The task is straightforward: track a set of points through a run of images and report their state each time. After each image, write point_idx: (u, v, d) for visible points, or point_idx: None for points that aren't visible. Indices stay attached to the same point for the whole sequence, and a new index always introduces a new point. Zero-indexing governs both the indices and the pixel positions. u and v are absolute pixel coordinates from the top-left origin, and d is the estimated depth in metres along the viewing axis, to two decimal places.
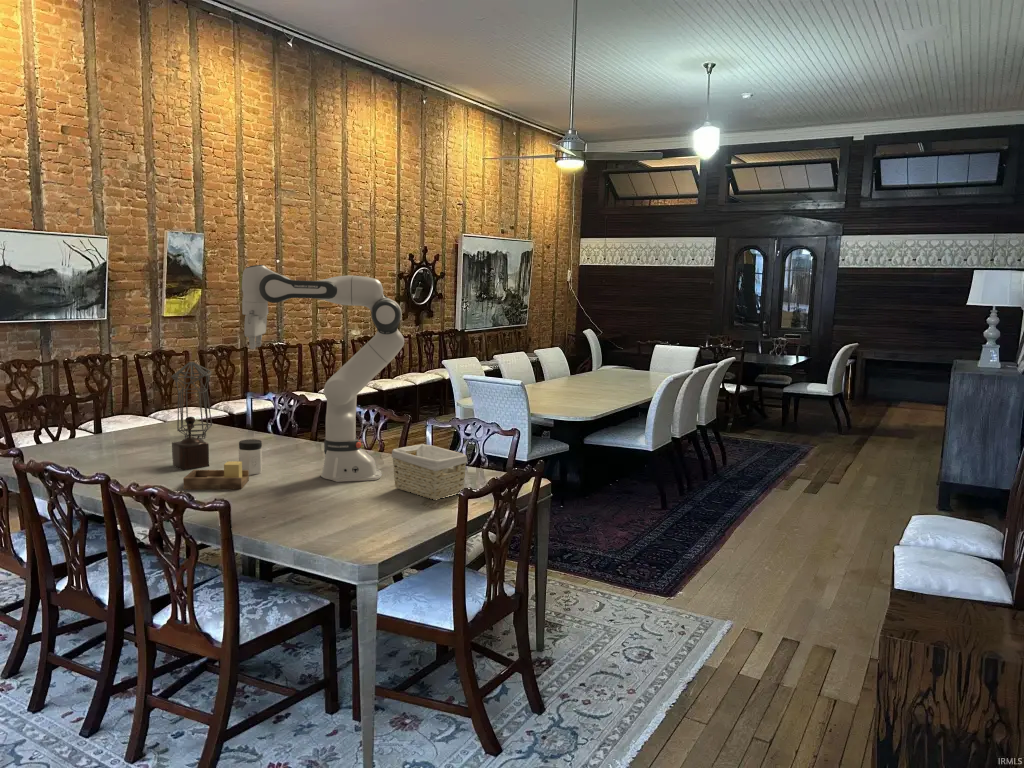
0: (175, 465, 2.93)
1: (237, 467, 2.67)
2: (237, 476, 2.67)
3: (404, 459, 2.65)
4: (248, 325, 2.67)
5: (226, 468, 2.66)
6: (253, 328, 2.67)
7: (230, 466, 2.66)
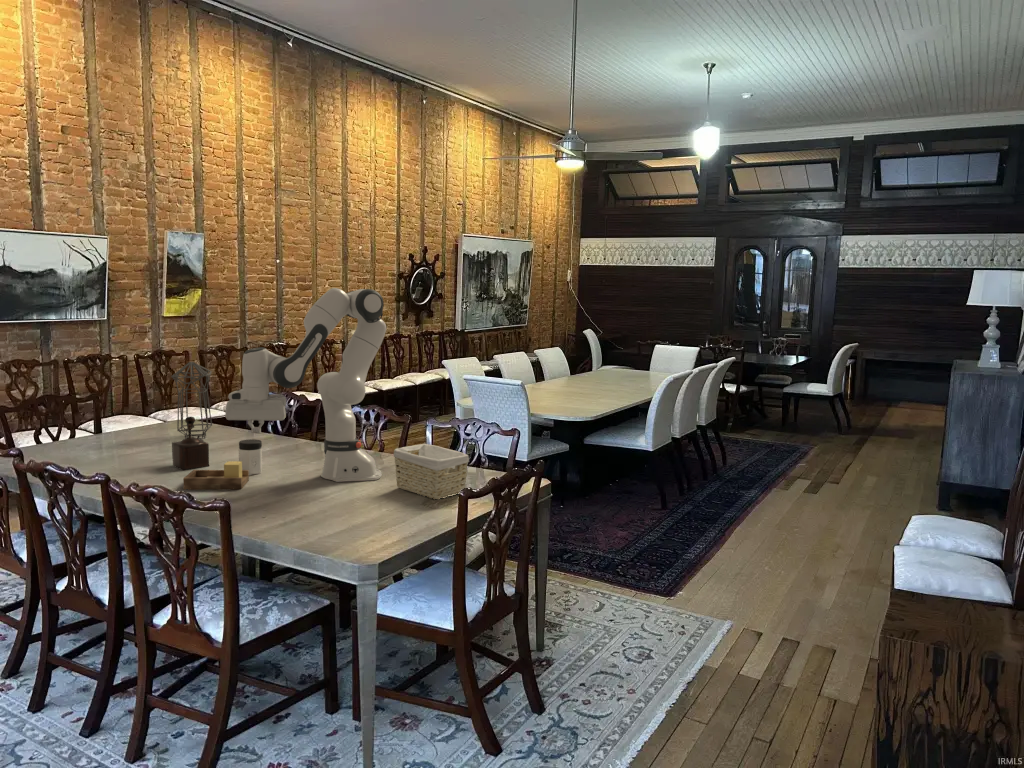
0: (175, 465, 2.93)
1: (237, 467, 2.67)
2: (237, 476, 2.67)
3: (406, 458, 2.66)
4: (284, 408, 2.68)
5: (226, 468, 2.66)
6: None
7: (230, 466, 2.66)
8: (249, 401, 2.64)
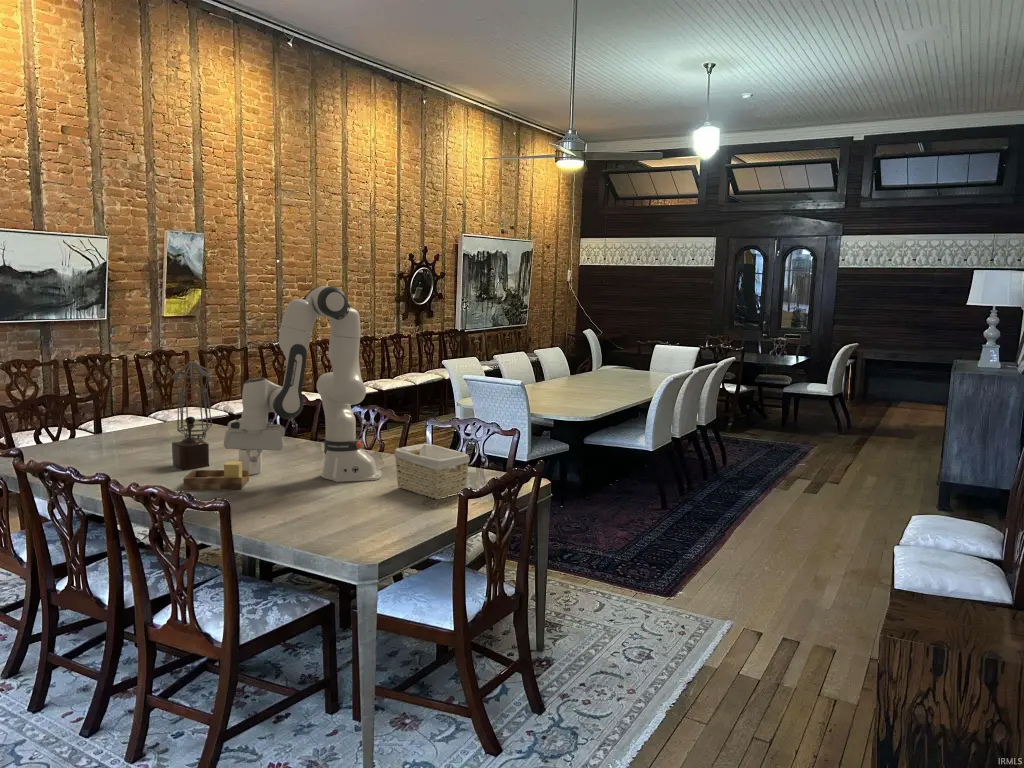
0: (175, 465, 2.93)
1: (237, 467, 2.67)
2: (237, 476, 2.67)
3: (407, 458, 2.66)
4: (282, 438, 2.69)
5: (226, 468, 2.66)
6: (283, 440, 2.71)
7: (230, 466, 2.66)
8: (248, 430, 2.65)
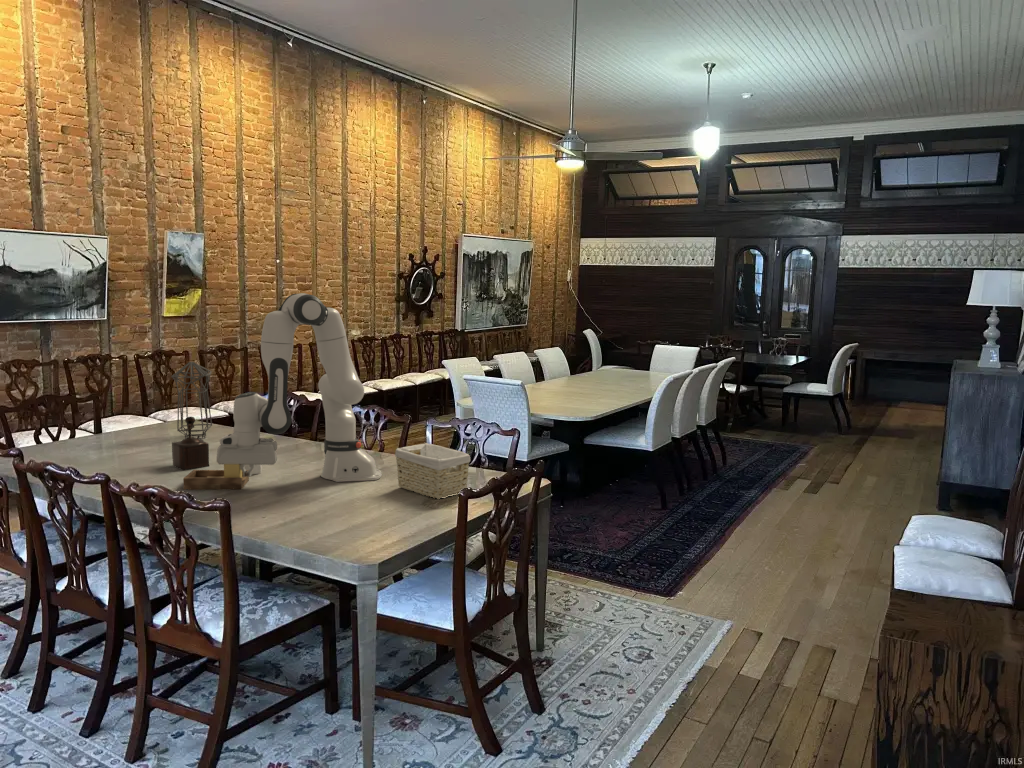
0: (175, 465, 2.93)
1: (237, 467, 2.67)
2: (237, 476, 2.67)
3: (407, 458, 2.67)
4: (275, 452, 2.70)
5: (226, 468, 2.66)
6: (276, 454, 2.72)
7: (230, 466, 2.66)
8: (240, 446, 2.66)
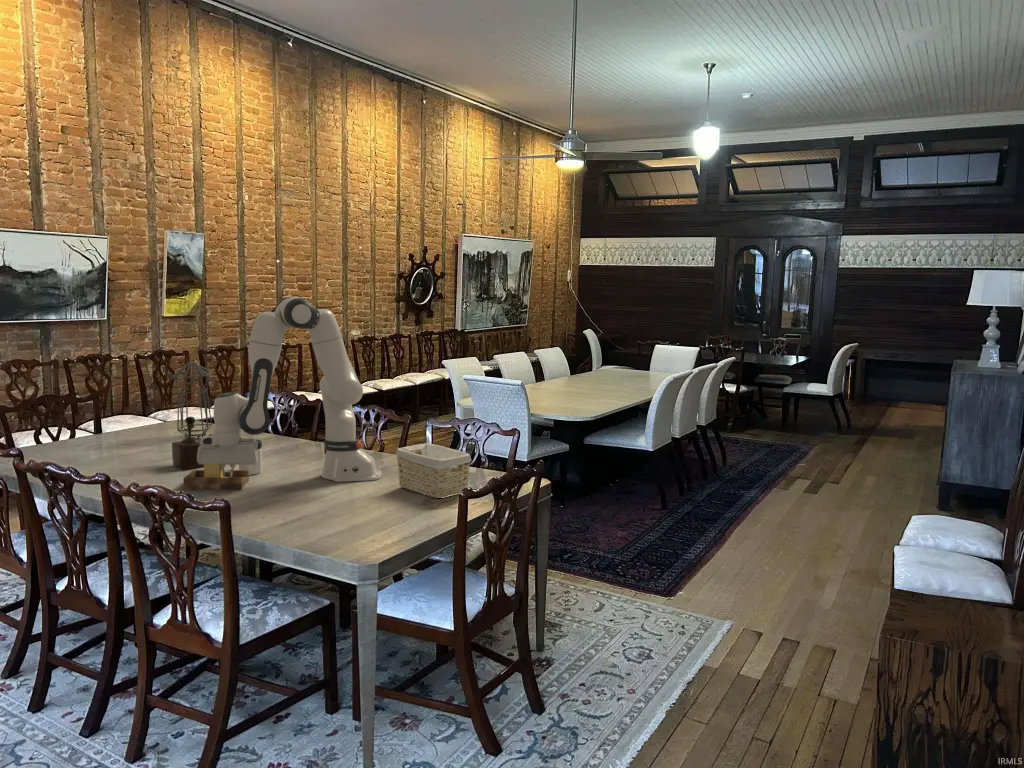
0: (175, 465, 2.93)
1: (217, 467, 2.66)
2: (217, 476, 2.66)
3: (408, 458, 2.67)
4: (256, 452, 2.69)
5: (206, 468, 2.66)
6: None
7: (210, 466, 2.66)
8: (220, 446, 2.65)
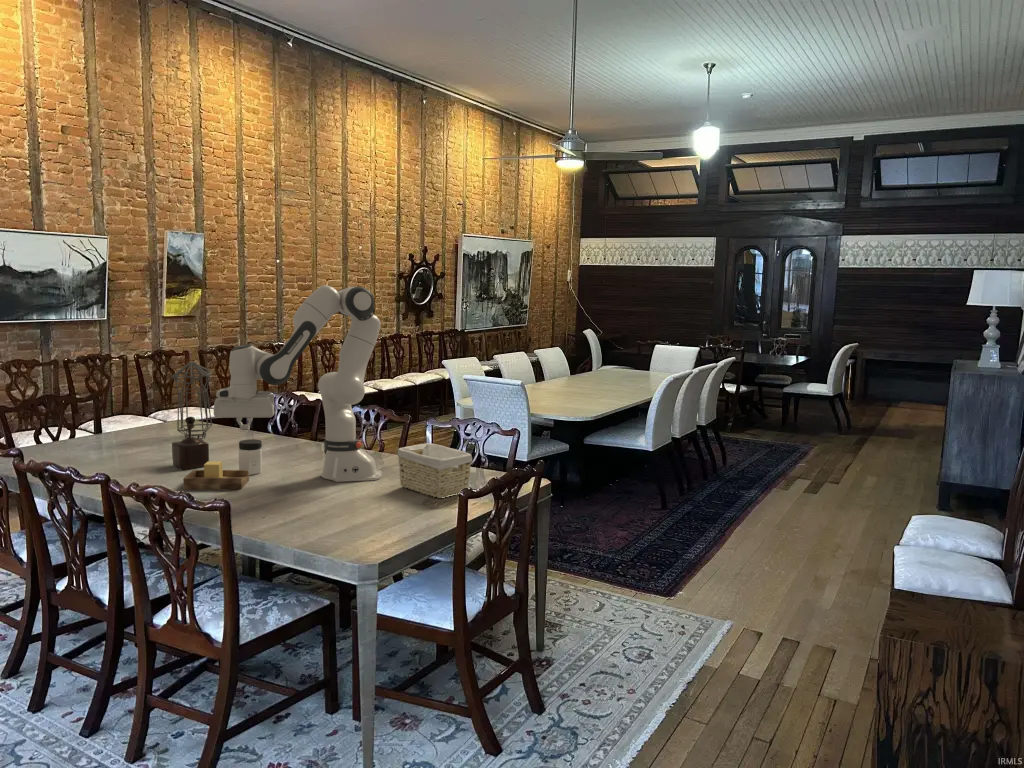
0: (175, 465, 2.93)
1: (217, 467, 2.66)
2: (217, 476, 2.66)
3: (409, 457, 2.67)
4: (272, 405, 2.68)
5: (206, 468, 2.66)
6: (273, 407, 2.69)
7: (210, 466, 2.66)
8: (237, 398, 2.63)
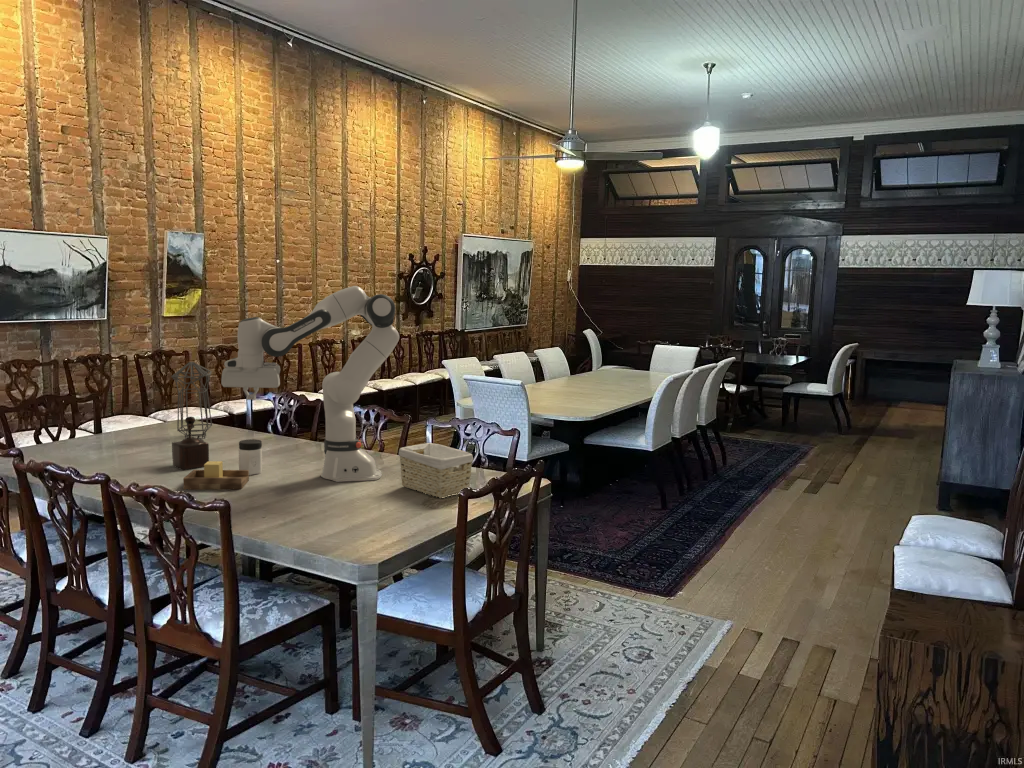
0: (175, 465, 2.93)
1: (217, 467, 2.66)
2: (217, 476, 2.66)
3: (411, 457, 2.68)
4: (278, 376, 2.78)
5: (206, 468, 2.66)
6: (279, 378, 2.79)
7: (210, 466, 2.66)
8: (244, 369, 2.74)
